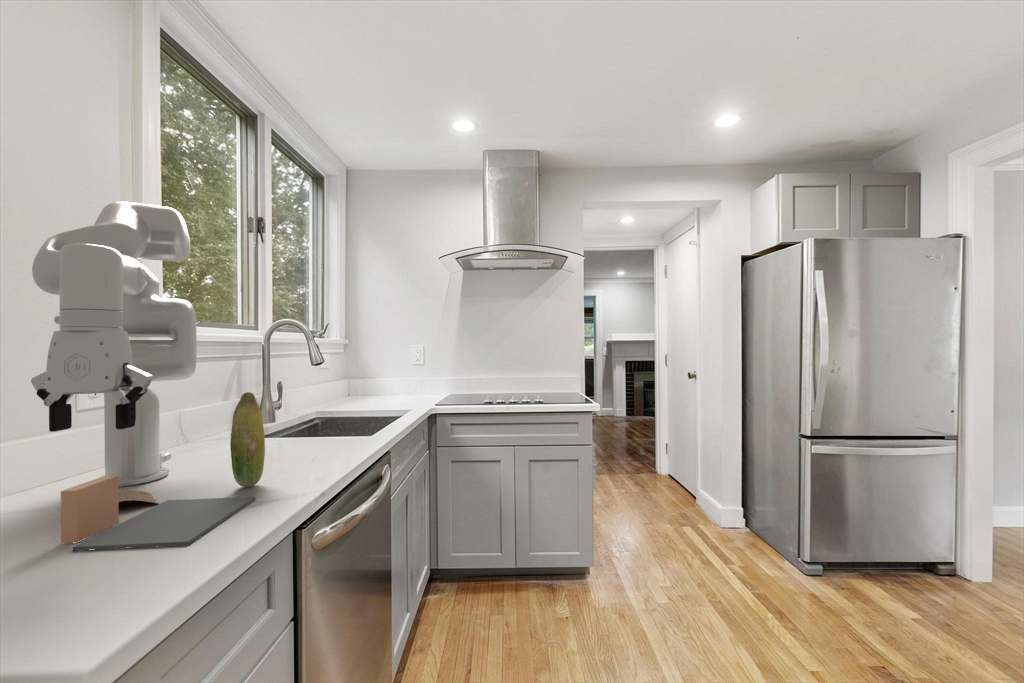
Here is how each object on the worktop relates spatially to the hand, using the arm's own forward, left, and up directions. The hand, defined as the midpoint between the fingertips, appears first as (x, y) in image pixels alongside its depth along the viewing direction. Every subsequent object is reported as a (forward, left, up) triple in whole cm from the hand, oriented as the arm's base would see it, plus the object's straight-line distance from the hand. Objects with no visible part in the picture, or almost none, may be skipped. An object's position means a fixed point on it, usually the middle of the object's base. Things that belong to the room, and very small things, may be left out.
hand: (93, 429), depth 72 cm
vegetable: (-21, +13, -17) cm, 30 cm away
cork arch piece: (-12, -7, -17) cm, 22 cm away
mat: (-3, +10, -17) cm, 20 cm away
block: (0, -1, -17) cm, 17 cm away
